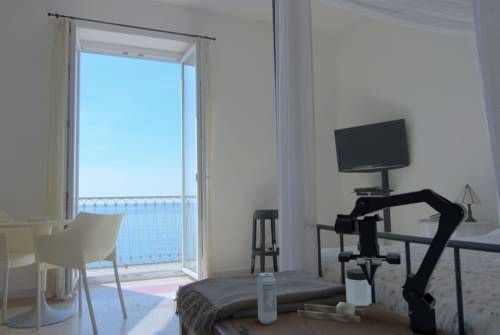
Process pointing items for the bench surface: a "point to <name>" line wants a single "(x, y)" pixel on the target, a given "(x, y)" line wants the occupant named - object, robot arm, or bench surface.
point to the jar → (357, 288)
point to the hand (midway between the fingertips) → (370, 285)
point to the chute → (329, 315)
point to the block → (346, 308)
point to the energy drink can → (266, 298)
